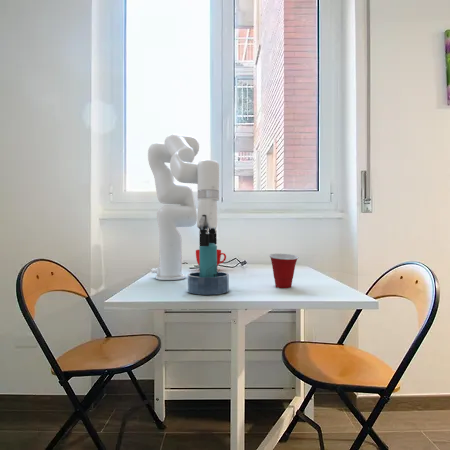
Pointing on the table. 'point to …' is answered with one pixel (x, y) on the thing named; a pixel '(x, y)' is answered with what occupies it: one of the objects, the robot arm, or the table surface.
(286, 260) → the plastic cup
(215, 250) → the beverage bottle
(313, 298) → the table surface
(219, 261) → the ceramic cup
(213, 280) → the blue-grey round bowl
